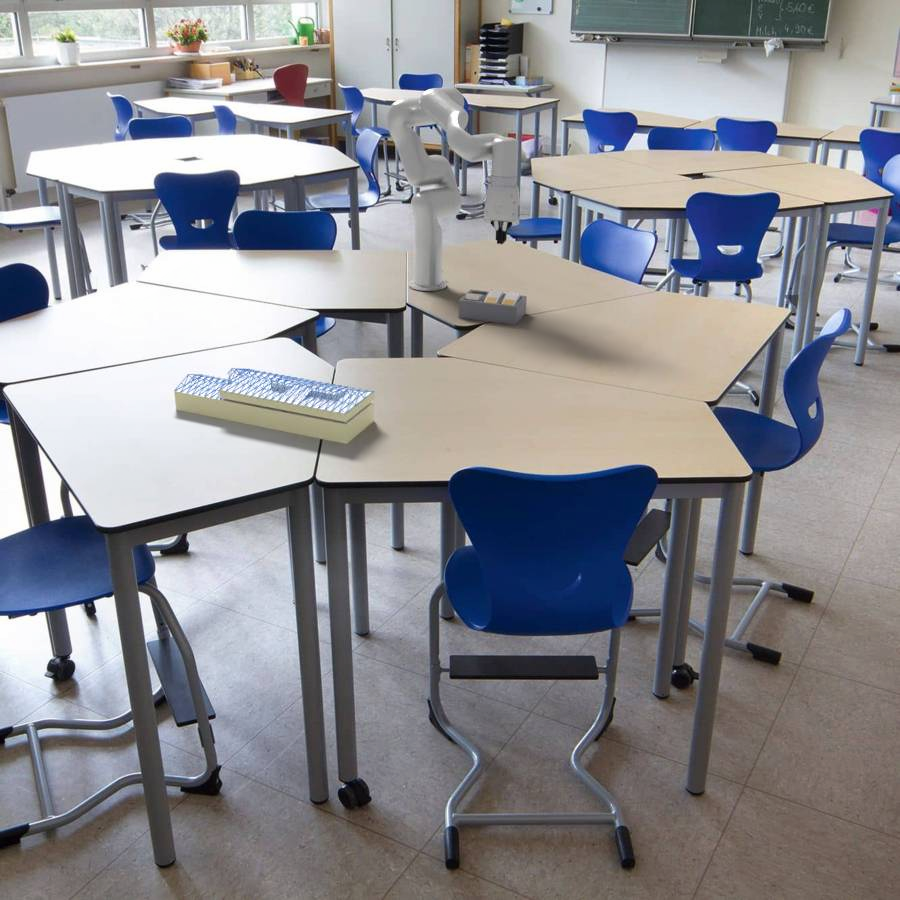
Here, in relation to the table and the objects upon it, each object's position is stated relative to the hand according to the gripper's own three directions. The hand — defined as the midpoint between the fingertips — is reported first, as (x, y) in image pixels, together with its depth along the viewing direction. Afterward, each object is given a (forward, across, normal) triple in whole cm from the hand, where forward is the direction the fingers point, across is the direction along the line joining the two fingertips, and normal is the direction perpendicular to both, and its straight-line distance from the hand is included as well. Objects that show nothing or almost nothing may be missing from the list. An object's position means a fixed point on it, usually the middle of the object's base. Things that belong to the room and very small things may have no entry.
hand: (500, 242), depth 297 cm
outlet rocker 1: (+16, -6, -6) cm, 18 cm away
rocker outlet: (+16, +6, -6) cm, 18 cm away
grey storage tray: (+21, 0, -6) cm, 22 cm away
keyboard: (+22, -26, -98) cm, 104 cm away
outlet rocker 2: (+16, 0, -6) cm, 17 cm away
